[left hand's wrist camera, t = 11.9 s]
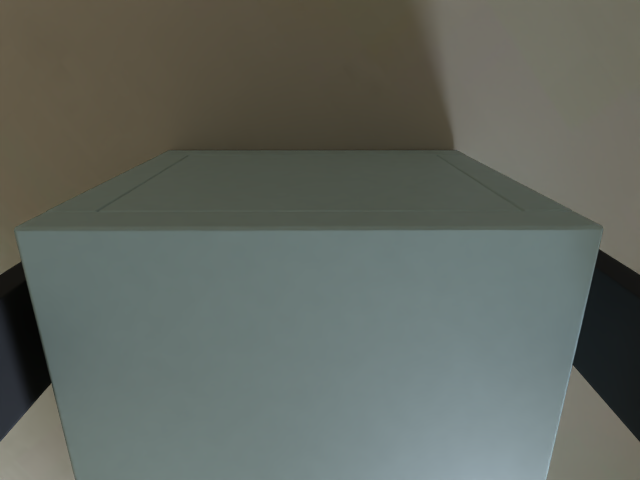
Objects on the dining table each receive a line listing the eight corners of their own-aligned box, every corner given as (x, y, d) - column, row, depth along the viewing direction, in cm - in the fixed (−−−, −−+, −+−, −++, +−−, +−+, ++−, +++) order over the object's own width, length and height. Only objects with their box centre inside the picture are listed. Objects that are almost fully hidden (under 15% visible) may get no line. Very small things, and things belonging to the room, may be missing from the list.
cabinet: (418, 519, 24) (479, 778, 15) (210, 520, 24) (148, 782, 15) (457, 150, 17) (606, 226, 8) (168, 150, 17) (11, 226, 8)
